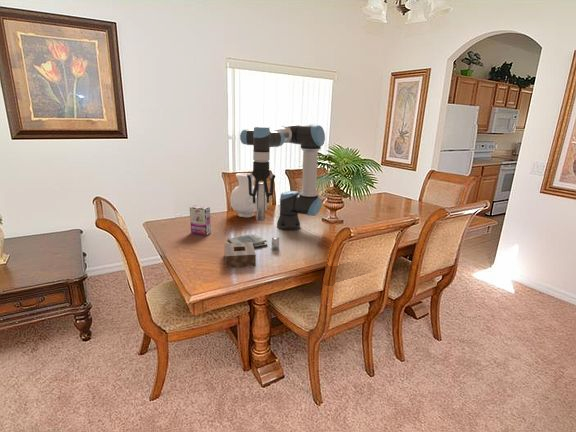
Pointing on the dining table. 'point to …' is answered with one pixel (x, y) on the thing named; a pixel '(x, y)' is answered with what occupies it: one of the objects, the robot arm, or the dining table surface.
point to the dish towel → (249, 240)
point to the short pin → (275, 243)
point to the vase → (243, 197)
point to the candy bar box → (200, 220)
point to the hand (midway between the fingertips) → (260, 209)
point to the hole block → (239, 255)
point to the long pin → (261, 202)
